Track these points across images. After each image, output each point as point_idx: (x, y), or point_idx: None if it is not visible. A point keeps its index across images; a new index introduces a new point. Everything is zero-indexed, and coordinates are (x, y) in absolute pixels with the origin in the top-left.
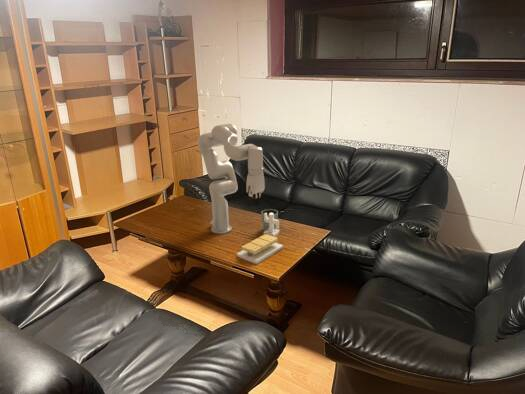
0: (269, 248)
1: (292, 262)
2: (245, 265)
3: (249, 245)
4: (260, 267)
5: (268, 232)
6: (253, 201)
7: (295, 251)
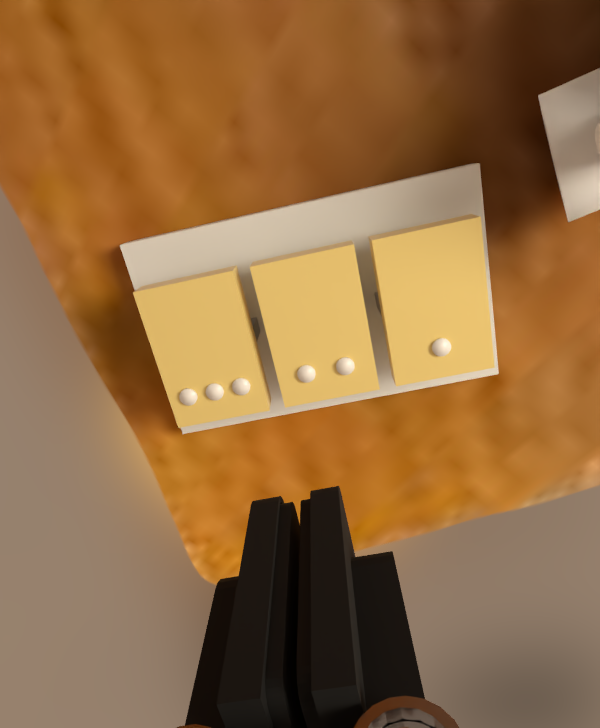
0: (380, 345)
1: (381, 536)
2: (117, 391)
3: (202, 319)
4: (186, 467)
5: (573, 135)
6: (208, 627)
7: (507, 454)
